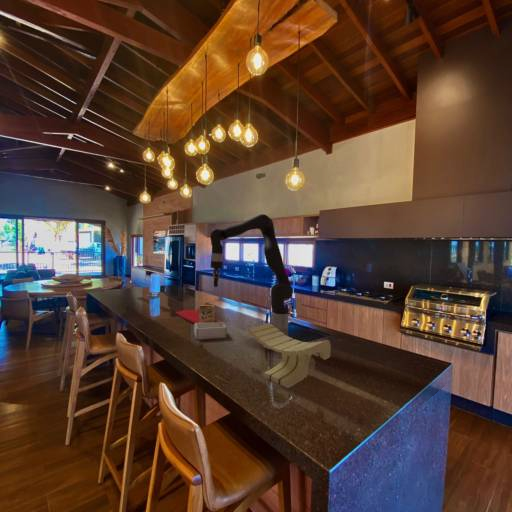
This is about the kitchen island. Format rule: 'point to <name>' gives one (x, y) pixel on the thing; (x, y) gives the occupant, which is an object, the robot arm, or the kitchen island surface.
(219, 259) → the robot arm
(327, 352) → the slatted curved stool
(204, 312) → the candy box
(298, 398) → the kitchen island surface
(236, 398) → the kitchen island surface
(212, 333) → the box
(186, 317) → the red flat case
